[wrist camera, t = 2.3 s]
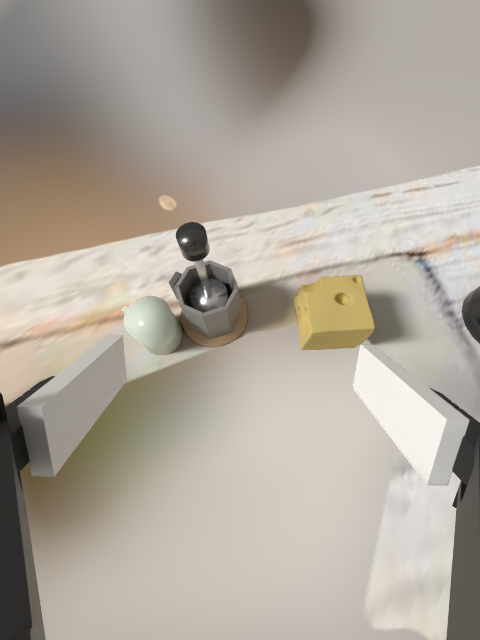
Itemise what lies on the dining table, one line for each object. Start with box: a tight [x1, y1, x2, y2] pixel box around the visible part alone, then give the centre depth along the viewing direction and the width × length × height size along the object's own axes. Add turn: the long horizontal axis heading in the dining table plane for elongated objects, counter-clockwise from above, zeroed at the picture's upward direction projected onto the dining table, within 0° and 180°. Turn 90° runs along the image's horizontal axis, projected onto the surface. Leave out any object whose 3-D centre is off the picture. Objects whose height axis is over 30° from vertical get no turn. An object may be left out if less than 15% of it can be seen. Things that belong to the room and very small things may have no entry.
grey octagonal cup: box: [169, 260, 248, 347], centre depth 50 cm, size 13×13×11 cm
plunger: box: [176, 222, 228, 313], centre depth 41 cm, size 6×6×16 cm
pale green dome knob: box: [121, 296, 183, 355], centre depth 50 cm, size 8×10×9 cm
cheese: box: [294, 275, 375, 350], centre depth 49 cm, size 10×11×10 cm
